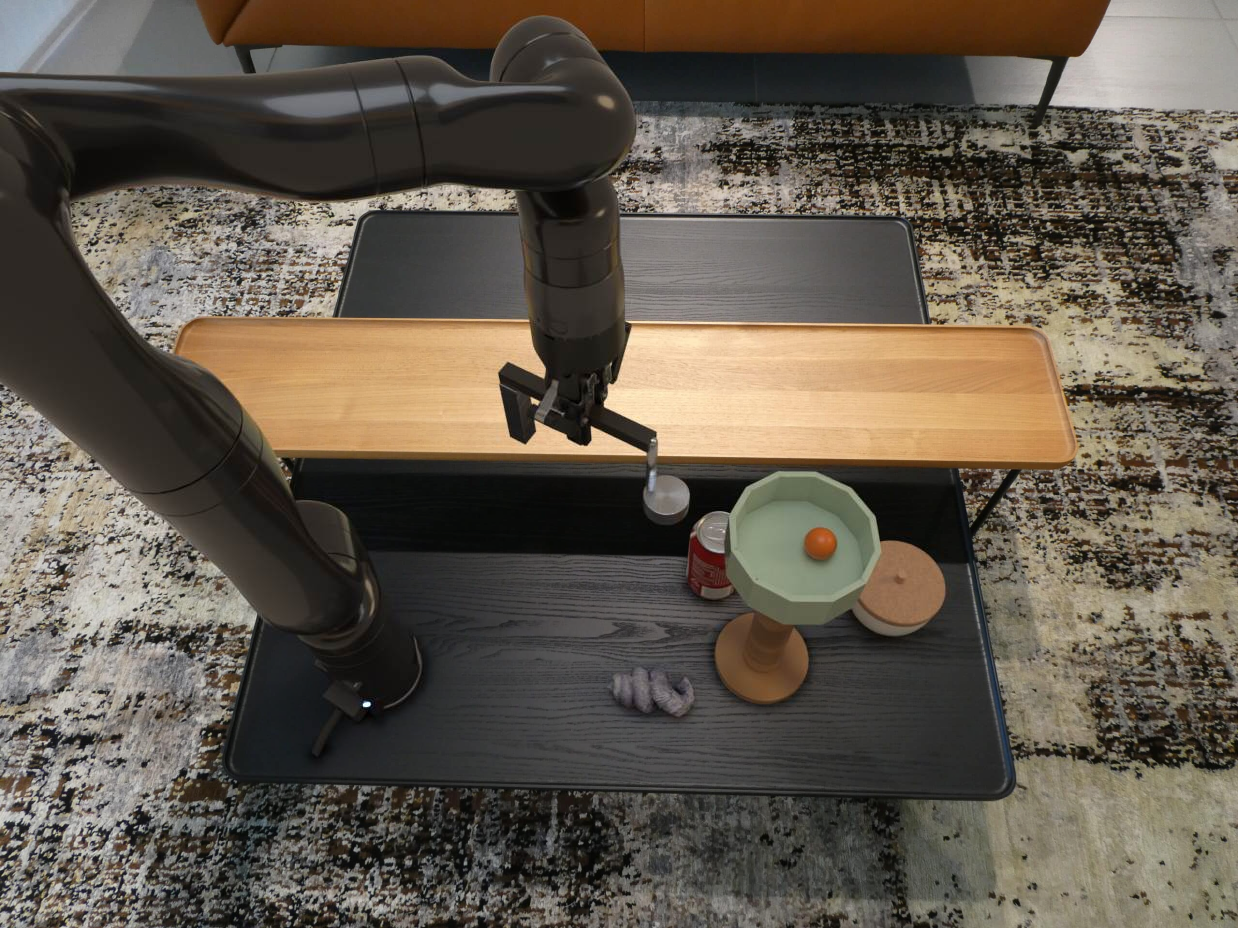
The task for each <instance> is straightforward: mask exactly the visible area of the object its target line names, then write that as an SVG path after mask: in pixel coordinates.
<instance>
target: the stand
mask: <svg viewBox="0 0 1238 928" xmlns="http://www.w3.org/2000/svg"><path fill="white" fill-rule="evenodd" d="M809 662H810V661H809V652H808V648H807V645H806V642H805V640H804V639H803V637H802V635H801V634H800V633H799V631H798V630H797V628H795V625H788V624H781V623H779V622H777V621H775V620H773V619H772V618H770V617H768V616H766V615H764V614H762V613H760V612H758V611H756V610H754V612H748V613H744V614H741V615H739V616H737V617H734V618H733V619H732V620H730V621H729V622H728V623H727V624H725V626H724V627H723V628H722V630H721V631H720V633H719V634H718V637H717V640H716V643H715V649H714V665H715V668H716V669H715V670H716V671H717V674H718V677H719V678H720V680H721V682H722V683H723V684H724V686H725V687H726V688H727V689H728V690H729V691H730V692H731V693H732V694H733V695H735V696H736V697H738V698H740V699H742V700H743V701H746V702H749V703H753V704H756V705H772V704H777V703H780V702H783V701H785V700H787V699H789V698H790V697H791V696H793V695H794V694H795V693H796V692H797V691H798V690H799V689H800V687H801V686H802V684H803V682H804V680H805V678H806V676H807V674H808V669H809Z"/></svg>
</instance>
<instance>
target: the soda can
mask: <svg viewBox="0 0 1238 928" xmlns="http://www.w3.org/2000/svg"><path fill="white" fill-rule="evenodd" d="M730 513H731V512H730ZM730 513H729V512H726V511H720V510H718V511H711V512H709V513H707V514H705V515H704V516H702V517H701V518H700V519H699V520H698V521H697V522H696V523H695V524H694V526H693V527H692V529H691V532H690V534H689V535H690V536H689V545H688V552H687V560H686V561H687V562H686V568H685V569H686V571H685V576H686V577H685V578H686V582H687V584H688V586H689V588H690V589H691V590H692V592H693V593H694V594H696V595H697V596H699V597H701V598H703V599H705V600H712V601H717V600H722V599H725V598H728V597H729V596H731V595H732V594H733V593H734V592H735V591H737V590H736V589H735V587H734V586H733V585H732V583H731V582H730V580H729V579H728V577H727V576H726V568H725V551H724V539H725V534H726V528H727V523H728V518H729V515H730Z"/></svg>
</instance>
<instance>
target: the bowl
mask: <svg viewBox="0 0 1238 928" xmlns="http://www.w3.org/2000/svg"><path fill="white" fill-rule="evenodd" d="M817 527H824V528H827V529H829V530H830V531H832V532H833V533H834V535H835V536H836V539H837V549H836V551H835V553H834V554H833V555H832V556H831V557H829V558H827V559H824V560H818V559H815V558H812V557H811V556H810V555H809V554H808V553H807V552H806V550H805V547H804V539H805V536H806V535H807V533H808V532H809V531H810V530H812V529H814V528H817ZM880 542H881V540H880V535H879V528H878V523H877V518H876V515H875V514H874V513H873V512H872V511H871V509H870V508H869V507H868V506H867V504H866V503H865V502H864V501H863V500H862V499H861V497H859V495H858V493H856V491H855V490H854V489H853V488H852V487H850V486H848V485H846V484H843V483H842V482H839V481H837V480H835V479H833V478H831V477H828V476H826V475H824V474H822V473H820V472H817V471H793V470H792V471H785V470H784V471H781V470H780V471H778V470H777V471H776V472H774V473H771V474H770V475H768V476H765V477H764V478H762V479H760V480H758V481H755V482H754V483H752V484H750V485H748V486H746V487H745V488H744V490H743V491H742V493H741V495H740V496H739V498H738V500H737V502H736V503H735V505H734V507H733V508H732V510H731V512H730V515H729V518H728V523H727V528H726V534H725V539H724V551H725V568H726V576H727V577H728V579H729V580H730V582H731V583H732V585H733V586H734V587H735V589H736V590H735V591H736V592H737V593H738V595H739V596H740V598H741V599H742V600H743V603H744V604H745V605H746V606H747V607H748V608H750V609H753V610H754V611H755V610H756V611H758V612H760V613H762V614H764V615H766V616H768V617H770V618H772V619H773V620H775V621H777V622H779V623H781V624H788V625H794V626H795V625H798V626H799V625H800V626H801V625H803V626H804V625H805V626H807V625H808V626H822V625H823V626H824V625H825V624H826V623H829V622H831V621H832V620H834V619H835V618H837V617H839V616H841V615H843V614H844V613H846V612H849V610H852V609H851V608H853V607H854V606H855V604H856V602H857V600H858V599H859V597H860V595H861V593H862V591H863V589H864V587H865V585H866V583H867V581H868V579H869V577H870V575H871V573H872V571H873V569H874V567H875V565H876V563H877V561H878V558H879V556H880V554H881V552H882V551H881V545H880Z"/></svg>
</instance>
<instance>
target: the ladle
mask: <svg viewBox="0 0 1238 928" xmlns="http://www.w3.org/2000/svg"><path fill="white" fill-rule="evenodd" d="M497 375H498V380H499V383H498V387H499V391H500V396H501V401H502V406H503V410H504V415H505V421H506V425H507V429H508V434H509V438H511V439H513V440H515V441H517V442H519V443H521V444H523V445H525V446H526V445H527V444H528V443H529V441H530V440H531V439H532V438H533V436H534V435H535V434H536V432H537V428H536V427H537V426H536V421H535V420H533V419H531V418H529V417H527V411H528V408H529V407H530V405H531V404H533V402H532V399H534V400H536V401H538V402H540V401H542V400H543V398H544V396H545V394H546V392H547V390H546V389H545V387H544V377H542V376H539V375H537V374H535V373H533V372H531V371H529V370H526V369H525V368H522V367H521V366H518V365H516V364H514V363H511V362H510V361H507V362H505V364H504V365H503V366H502V367H501V369H500V370H498V372H497ZM589 416H590V417H589V419H590V424H591V426H592V427H591V428H593V429H595V430H598V431H600V432H601V433H605V434H606V435H608V436H610V437H612V438H615V439H616V440H619V441H621V442H623V443H625V444H628V445H629V446H631V447H634V448H636V449H637V450H640V451H642V452H644V453H646V454H645V455H646V458H645V460H646V461H645V487H644V488H643V493H642V509H643V512H644V514H645V516H646V517H647V518H648V519H649V520H651V522H653V523H655V524H658V525H661V526H671V525H675V524H678V523H679V522H681V521H682V520H684V518H685V517H686V516H687V514H688V512H689V508H690V501H691V499H690V498H691V494H690V489H689V487H688V486H687V484H686V483H685V482H684V481H683V480H682V479H681V478H679V477H677V476H673V475H667V474H665V475H658V458H659V457H658V454H659V453H658V452H659V440H658V437H657V436H658V431H656V430H654V429H652V428H650V427H648V426H645V425H643V424H641V423H639V422H638V421H636V420H633V419H631V418H628V417H626V416H624V415H622V414H620V413H618V412H616V411H613V410H612V409H609V408H607V407H605V406H604V407H603V406H601V405H599V404H597V403H595V402H594V404H593V405H592V406H591V407H590V409H589Z"/></svg>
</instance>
